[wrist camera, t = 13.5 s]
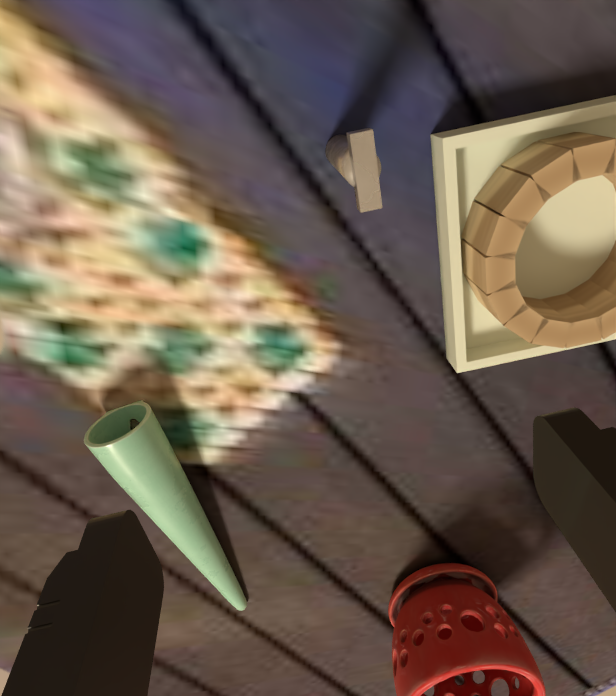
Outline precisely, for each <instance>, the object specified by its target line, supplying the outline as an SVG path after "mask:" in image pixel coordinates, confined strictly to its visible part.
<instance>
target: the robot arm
mask: <svg viewBox="0 0 616 696" xmlns="http://www.w3.org/2000/svg"><path fill="white" fill-rule="evenodd" d="M533 476H534V482H535V486H536V490H537V493H538V495H539V497H540V500H541V502H542V504H543V505H544V507H545V509H546V510H547V511H548V513H549V514H550V516H551V517H552V519H553V520H554V522H555V523H556V525H557V526H558V528H559V529H560V531H561V532H562V534H563V535H564V537H565V538H566V540H567V541H568V542H569V544H570V545H571V547H572V548H573V550H574V551H575V553H576V554H577V556H578V557H579V559H580V560H581V562H582V563H583V565H584V566H585V568H586V569H587V571H588V572H589V573H590V575H591V576H592V578H593V579H594V581H595V582H596V584H597V585H598V587H599V588H600V590H601V591H602V593H603V594H604V596H605V597H606V599H607V600H608V602H609V603H610V604H611V606H612V607H613V609H614V610H615V612H616V428H614V427H611V428H606V429H602V430H600V429H599V428H598V427H597V426H596V425H595V424H594V423H593V422H592V421H591V420H590V419H589V418H588V417H587V416H586V415H585V414H584V413H583V412H582V411H581V410H580V409H578V408H570V409H566V410H561V411H557V412H553V413H549V414H544V415H540V416H537V417H536V418H535V419H534V423H533ZM163 591H164V580H163V572H162V567H161V564H160V561H159V559H158V557H157V555H156V553H155V551H154V549H153V547H152V545H151V543H150V541H149V539H148V537H147V535H146V533H145V531H144V530H143V528H142V526H141V524H140V522H139V520H138V518H137V516H136V514H135V513H134V512H133V511H131V510H126V511H122V512H118V513H114V514H109V515H105V516H101V517H96V518H93V519H91V520H90V521H89V522H88V523H87V526H86V528H85V531H84V534H83V537H82V540H81V543H80V545H79V548H78V550H75V551H71V552H67V553H66V554H65V556H64V557H63V558H62V559H61V561H60V562H59V563H58V565H57V566H56V567H55V569H54V570H53V571H52V573H51V574H50V575H49V576H48V578H47V580H46V583H45V585H44V588H43V590H42V593H41V595H40V598H39V601H38V603H37V610H36V611H34V613H33V616H32V619H31V621H30V624H29V626H28V634H25V636H24V639H23V642H22V644H21V647H20V649H19V652H18V654H17V657H16V660H15V662H14V665H13V667H12V670H11V672H10V675H9V678H8V680H7V683H6V685H5V688H4V690H3V693H2V696H147V694H148V687H149V681H150V675H151V668H152V662H153V656H154V649H155V643H156V637H157V630H158V624H159V618H160V611H161V605H162V599H163Z"/></svg>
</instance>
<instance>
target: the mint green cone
mask: <svg viewBox="0 0 616 696" xmlns="http://www.w3.org/2000/svg"><path fill="white" fill-rule="evenodd" d="M131 419H136V420H137V421H138V422H139V423H140V424H139V425H138V426H137V427H135V428H134V429H133V430H131V428H130V426H131V424H130V420H131ZM84 443H85V444H86V446H87V447H88V448H89V449H90V450H91V452H92V453H93V454H94V455H95V457H96V458H97V459H98V460H99V461H100V463H101V464H102V465H103V466H104V467H105V469H106V470H107V471H108V472H109V473H110V475H111V476H112V477H113V478H114V479H115V480H116V481H117V483H118V484H119V485H120V486H121V487H122V488H123V489H124V490H125V491H126V492H127V493H128V494H129V496H130V497H131V498H132V499H133V500H134V501H135V502H136V503H137V504H138V505H139V506H140V507H141V508H142V509H143V511H144V512H145V513H146V514H147V515H148V516H149V517H150V518H151V519H152V520H153V521H154V522H155V523H156V524H157V526H158V527H159V528H160V529H161V530H162V531H163V532H164V533H165V534H166V535H167V536H168V537H169V538H170V539H171V540H172V542H173V543H174V544H175V545H176V546H177V547H178V548H179V549H180V550H181V551H182V552H183V553H184V554H185V555H186V556H187V558H188V559H189V560H190V561H191V562H192V563H193V564H194V565H195V566H196V567H197V568H198V569H199V570H200V571H201V573H202V574H203V575H204V576H205V577H206V578H207V579H208V580H209V581H210V582H211V583H212V584H213V585H214V586H215V587H216V588H217V590H218V591H219V592H220V593H221V594H222V595H223V596H224V597H225V598H226V599H227V600H228V601H229V602H230V603H231V604H232V605H233V606H234V607H235V608H236V609H238V610H244V609H245V608H246V607H247V601H246V598H245V596H244V594H243V591H242V589H241V587H240V585H239V583H238V581H237V579H236V576H235V574H234V572H233V570H232V568H231V566H230V564H229V562H228V560H227V558H226V556H225V554H224V552H223V549H222V547H221V545H220V543H219V541H218V539H217V537H216V535H215V533H214V531H213V529H212V527H211V525H210V523H209V521H208V519H207V517H206V515H205V513H204V511H203V509H202V507H201V505H200V503H199V501H198V499H197V497H196V495H195V492H194V490H193V488H192V486H191V484H190V482H189V480H188V478H187V476H186V474H185V472H184V471H183V469H182V467H181V465H180V463H179V461H178V459H177V457H176V455H175V453H174V451H173V449H172V447H171V445H170V443H169V441H168V439H167V437H166V435H165V433H164V432H163V430H162V428H161V426H160V424H159V422H158V420H157V418H156V417H155V415H154V413H153V411H152V409H151V407H150V405H149V404H147V403H145V402H144V401H143V400H140V401H137V402H134V403H131V404H128V405H125V406H122V407H119V408H116V409H113V410H110V411H108V412H106V414H105V415H103V416H102V417H101V418H99V419H98V420H97V421H96V422H95V423H94V424H93V425H92V426H91V427H90V428H89V429H88V431H87V432H86V434H85V437H84Z"/></svg>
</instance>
